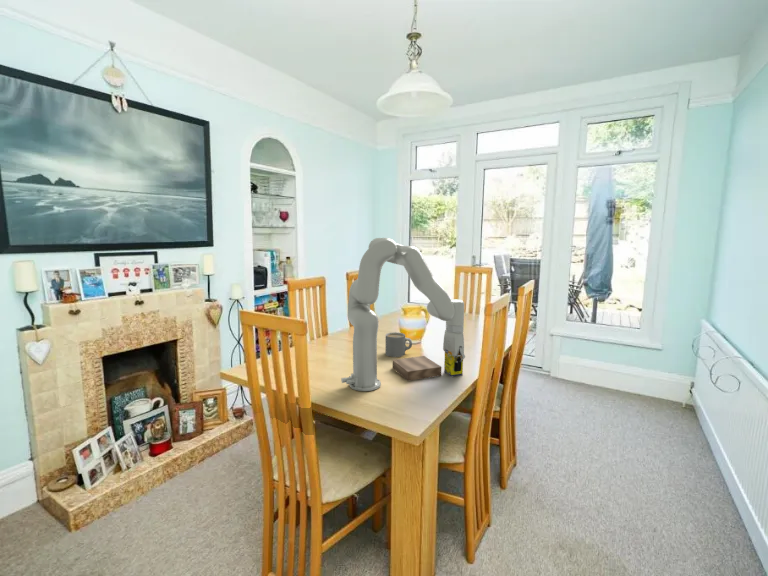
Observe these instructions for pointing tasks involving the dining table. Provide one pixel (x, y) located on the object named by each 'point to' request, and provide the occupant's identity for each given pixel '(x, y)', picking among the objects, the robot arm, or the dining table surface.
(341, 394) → the dining table surface
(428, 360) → the walnut base
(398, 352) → the coffee mug
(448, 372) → the supplement box
